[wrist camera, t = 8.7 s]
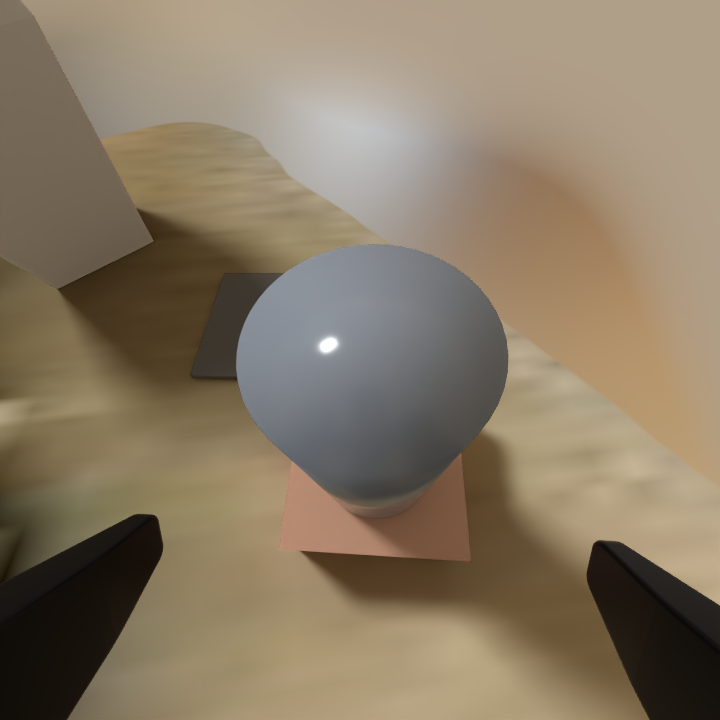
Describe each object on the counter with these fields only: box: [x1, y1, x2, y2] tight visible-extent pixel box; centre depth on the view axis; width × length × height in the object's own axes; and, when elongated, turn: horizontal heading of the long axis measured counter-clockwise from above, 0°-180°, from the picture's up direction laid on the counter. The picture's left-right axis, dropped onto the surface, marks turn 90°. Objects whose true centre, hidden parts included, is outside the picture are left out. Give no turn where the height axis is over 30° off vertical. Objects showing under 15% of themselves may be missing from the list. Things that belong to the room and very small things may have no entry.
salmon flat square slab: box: [279, 453, 471, 562], centre depth 17 cm, size 8×8×4 cm
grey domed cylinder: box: [236, 244, 508, 519], centre depth 11 cm, size 5×5×10 cm
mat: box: [190, 273, 284, 379], centre depth 24 cm, size 9×9×1 cm
